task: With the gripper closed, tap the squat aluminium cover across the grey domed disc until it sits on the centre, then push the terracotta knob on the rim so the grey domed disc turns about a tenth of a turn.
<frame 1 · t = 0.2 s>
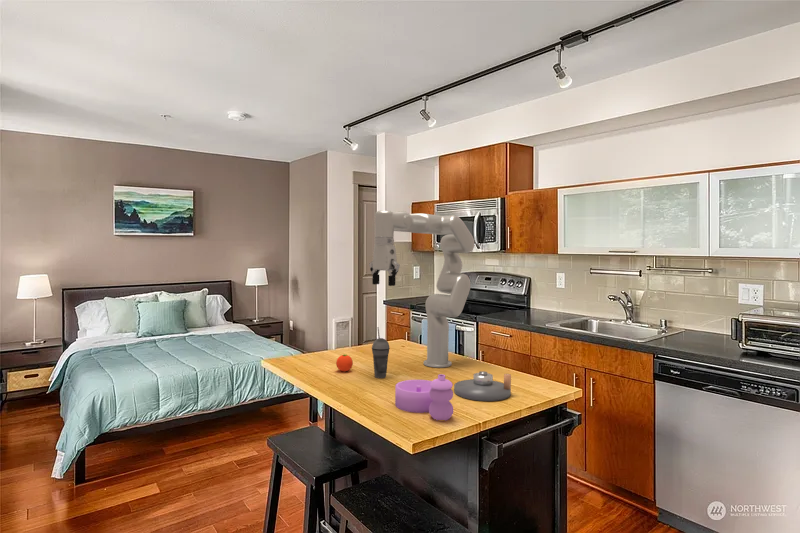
hand: (383, 285, 189), 37 cm above the table, tool pointing down, fingers open, 9 cm apart
tomato: (344, 371, 200), on the table
container set: (426, 410, 152), on the table
grey domed disc: (482, 382, 171), point 4 cm above the table, hinge at 0.0°, touching cover
beverage cup: (380, 377, 191), on the table
cover: (483, 383, 175), point 2 cm above the table, touching grey domed disc
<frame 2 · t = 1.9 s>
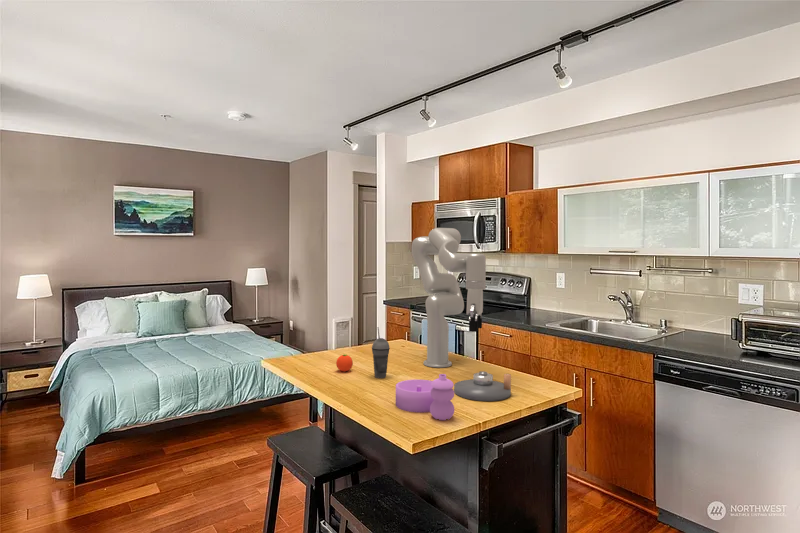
hand: (475, 329, 184), 21 cm above the table, tool pointing down, fingers open, 9 cm apart
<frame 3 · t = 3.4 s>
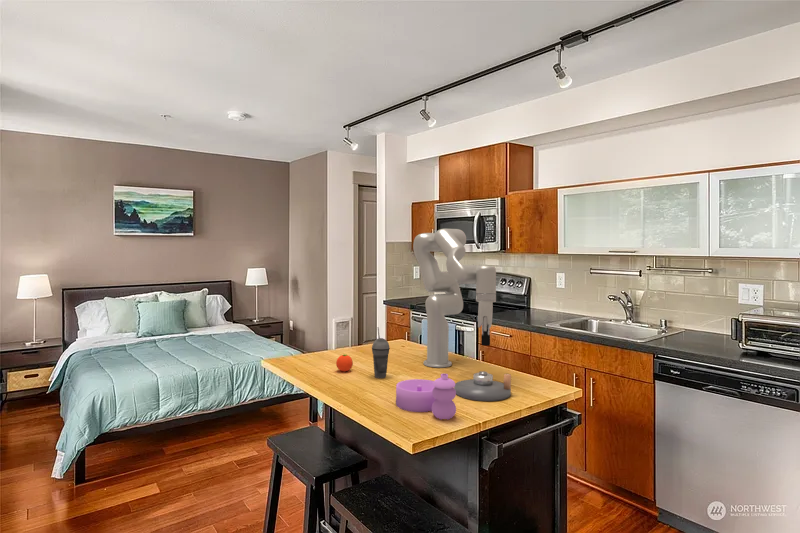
hand: (485, 345, 183), 15 cm above the table, tool pointing down, fingers closed
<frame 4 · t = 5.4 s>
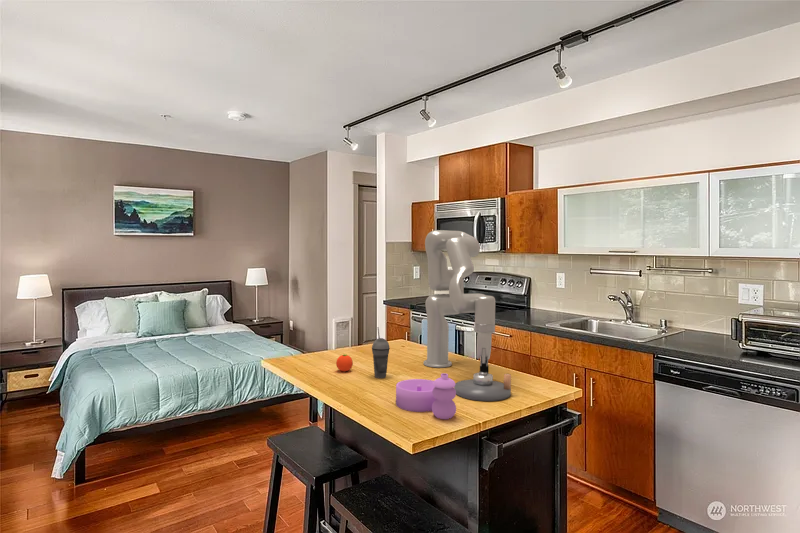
hand: (484, 376, 180), 3 cm above the table, tool pointing down, fingers closed
cover: (482, 383, 175), point 2 cm above the table, touching gripper, grey domed disc
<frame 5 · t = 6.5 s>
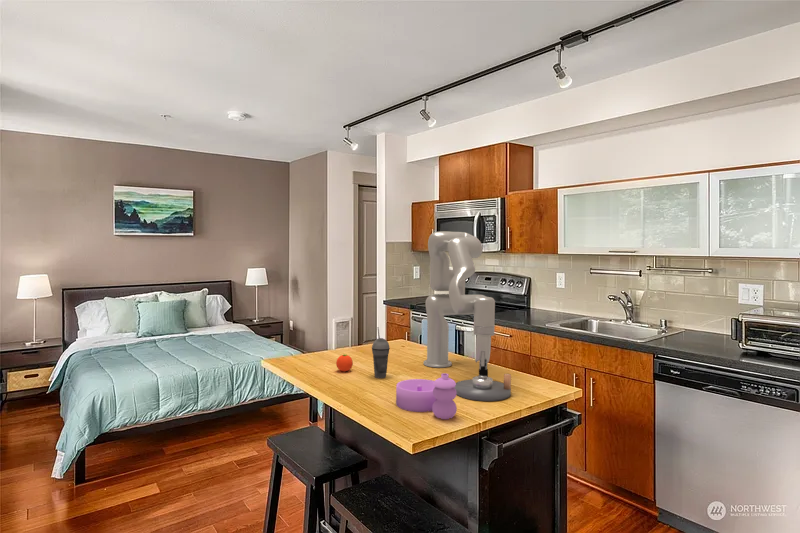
hand: (483, 379, 176), 3 cm above the table, tool pointing down, fingers closed
cover: (482, 386, 170), point 2 cm above the table, touching gripper, grey domed disc
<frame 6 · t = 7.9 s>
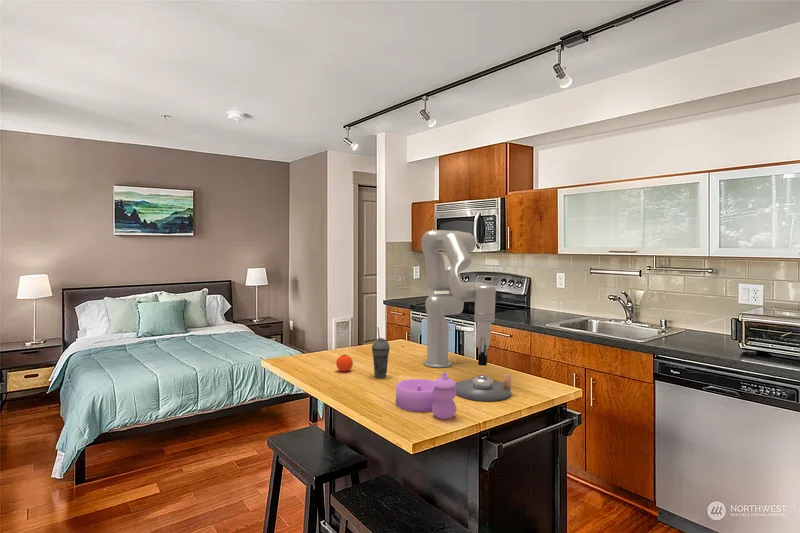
hand: (482, 364, 181), 8 cm above the table, tool pointing down, fingers closed
cover: (482, 387, 170), point 2 cm above the table, touching grey domed disc
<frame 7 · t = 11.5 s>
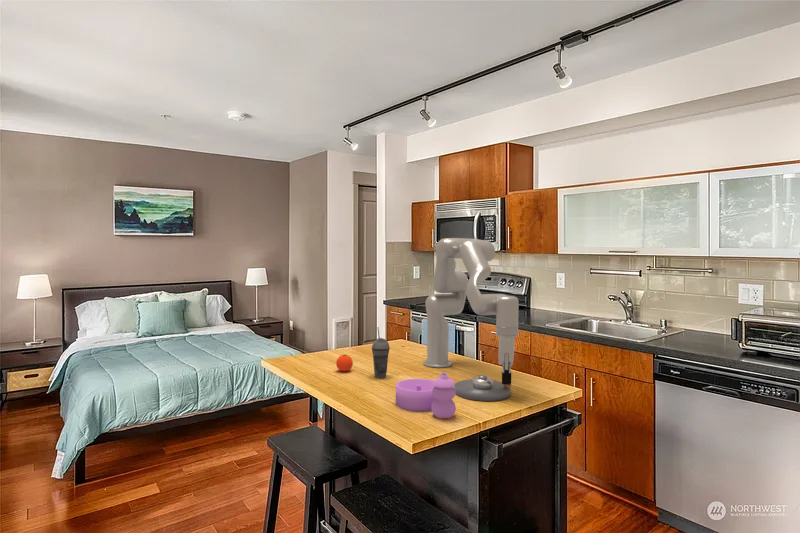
hand: (506, 383, 166), 5 cm above the table, tool pointing down, fingers closed
grey domed disc: (482, 382, 171), point 4 cm above the table, hinge at 3.1°, touching cover, gripper
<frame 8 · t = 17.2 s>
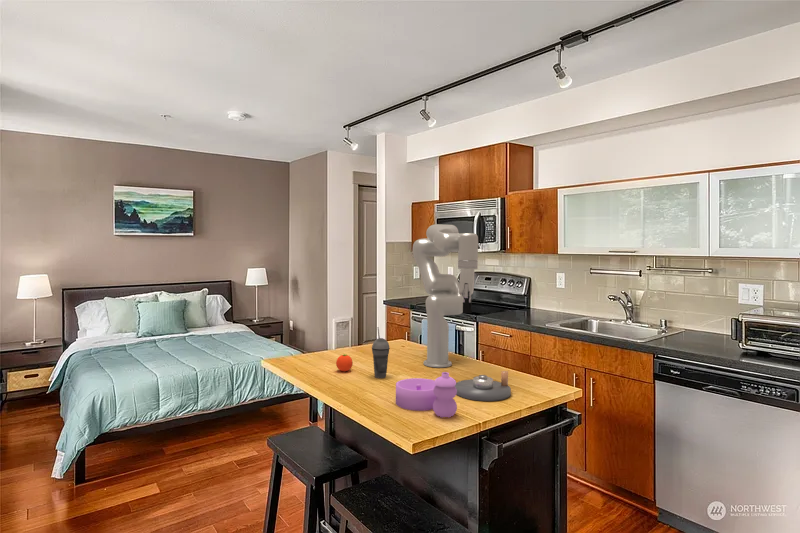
hand: (467, 312, 184), 27 cm above the table, tool pointing down, fingers closed
grey domed disc: (482, 382, 171), point 4 cm above the table, hinge at 27.8°, touching cover
at the end: cover 0.4 cm from the grey domed disc (horizontally); grey domed disc at +28° (first picture: +0°); cover tilted 0° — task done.
